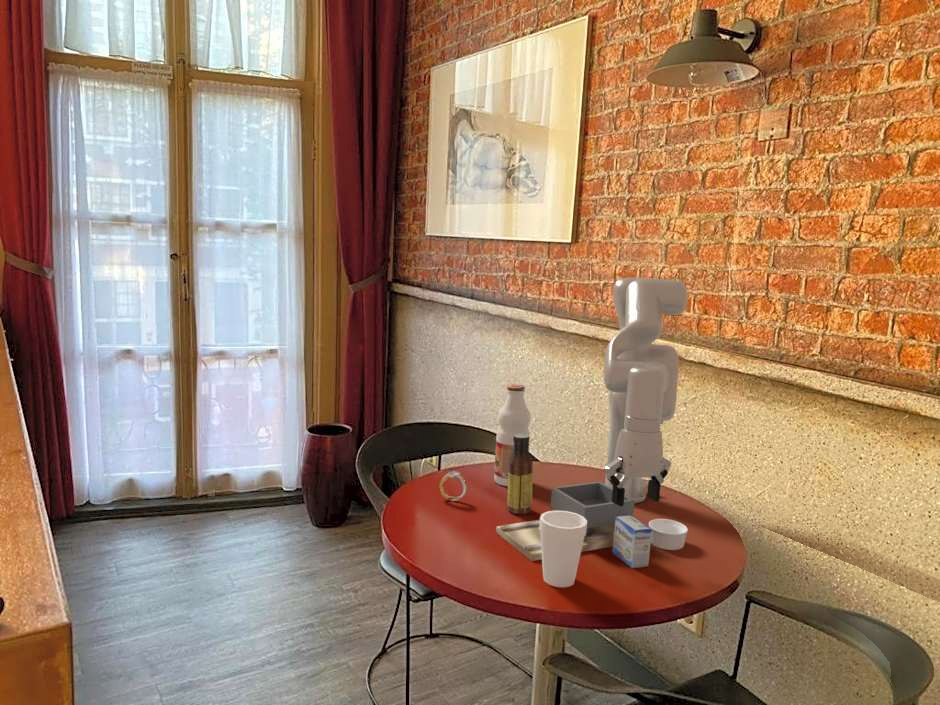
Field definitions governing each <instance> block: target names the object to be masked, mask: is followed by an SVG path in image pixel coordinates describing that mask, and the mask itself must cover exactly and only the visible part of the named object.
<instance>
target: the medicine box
mask: <svg viewBox="0 0 940 705" xmlns="http://www.w3.org/2000/svg"><path fill="white" fill-rule="evenodd" d="M651 535H652V529H650V528H649V526H647V525H646V524H645V523H643V522H641V521H640V520H638V519H637V518H636V517H635V516H634V515H633V516H620V517H616V521H615V530H614V540H613V546H612V551H611V552H612V554H613V556H615V557H617V558H618V559H619V560H620V561H621V562H623V563H625V564H626V565H627V566H628V567H629V568H631V569H637V568H645V567H649V561H650V552H651V545H652V543H651Z"/></svg>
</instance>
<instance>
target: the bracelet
mask: <svg viewBox="0 0 940 705" xmlns="http://www.w3.org/2000/svg"><path fill="white" fill-rule="evenodd" d="M461 474H462V473H461V472H459V471H457V470H456V471H455V470H452V471H450V470H449V471H448V473H446V474H445V475H444V476H443V477H442V478H441V481H439V482H440V483H439V490H440V493H441V495H442V496H443V497H444V498H445V499H447V500H449V501H451V502H454V501H459V500H461V499H462V498H463V497H464V496H465V494H466V492H467V488H468V487H467V486H468V485H467V482H466V480H465V478H464V477H463V476H462V475H461ZM451 478H452V479H453V478H456V479H458V480H460V481H461V484H462V487H463V488H462V489H463V491H462V493H461V494H460V495H459V496H453V495H452V496H450V495H448V494H447V493H446V492H445V490H444V483H445V481H447V480H449V479H451Z"/></svg>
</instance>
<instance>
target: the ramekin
mask: <svg viewBox="0 0 940 705" xmlns="http://www.w3.org/2000/svg"><path fill="white" fill-rule="evenodd" d="M648 527H649V528H650V529H652V535H651V545H653V546H654V547H656V548H658V549H662V550H666V551H667V550H668V551H677V550H682V548H684V546H685V542H686V537H687V534H688V532H689V529H688V527H687V526H686V525H685V524H683V523H681V522H680V521H679V522H678V521H676V520H673V519H668V518H667V519H666V518H654V519H651V520H650V521H649V522H648Z"/></svg>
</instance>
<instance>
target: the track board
mask: <svg viewBox="0 0 940 705" xmlns="http://www.w3.org/2000/svg"><path fill="white" fill-rule="evenodd" d="M539 524H540V519H536V520H530V521H523V522H516V523H511V524H510V523H509V524H504V525H498V526H496V528H495V533H496V534H497V535H499V536H500V537H501V538H502V539H504V540H505V542H507V543H509V545H511V546H512V547H514V549H516V550H517V551H519V552H520V553H521V555H523V556H524V557H525V558H527V559H528V560H529V561H531V562H533V561H539V560H542V550H541V535H540V529H539ZM614 530H615V524H610V525H604V526H598V527H594V533H593V535H591V536H587V535H585V536H584V540H583V545H582V550H581V553H583V552H588V551H594V550H600V549H605V548H610V547H613V540H614Z"/></svg>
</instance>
